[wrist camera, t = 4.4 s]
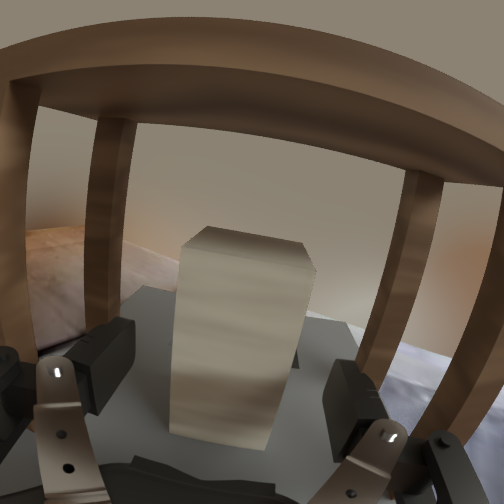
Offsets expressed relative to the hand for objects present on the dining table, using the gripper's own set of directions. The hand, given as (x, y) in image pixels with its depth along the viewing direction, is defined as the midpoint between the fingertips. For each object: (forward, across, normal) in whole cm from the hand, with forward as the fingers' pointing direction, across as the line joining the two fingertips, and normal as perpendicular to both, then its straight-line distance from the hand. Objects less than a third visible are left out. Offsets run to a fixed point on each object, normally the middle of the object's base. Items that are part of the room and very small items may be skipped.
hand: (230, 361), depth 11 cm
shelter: (+3, 0, +6) cm, 7 cm away
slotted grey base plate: (+1, 0, +8) cm, 9 cm away
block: (+3, 0, +6) cm, 7 cm away
